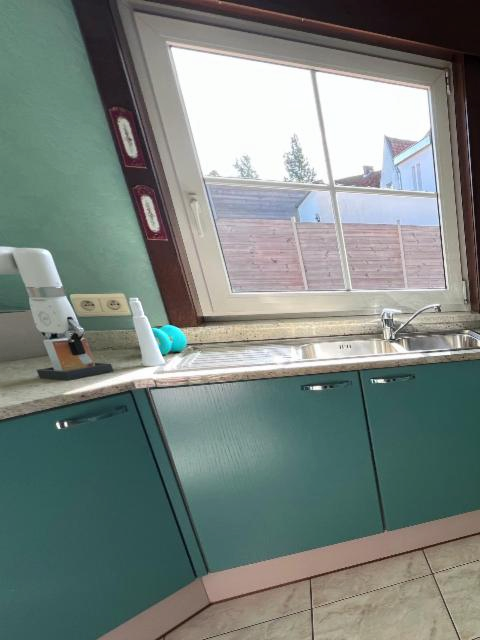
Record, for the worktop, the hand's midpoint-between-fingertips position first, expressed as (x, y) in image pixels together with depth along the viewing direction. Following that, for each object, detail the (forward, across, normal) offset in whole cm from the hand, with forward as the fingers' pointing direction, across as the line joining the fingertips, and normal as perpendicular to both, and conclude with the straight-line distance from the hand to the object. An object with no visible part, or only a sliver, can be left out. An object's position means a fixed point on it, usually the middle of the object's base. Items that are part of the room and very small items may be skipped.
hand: (69, 353), depth 151 cm
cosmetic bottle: (+7, +7, +18) cm, 21 cm away
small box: (+6, 0, 0) cm, 6 cm away
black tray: (+7, 0, 0) cm, 7 cm away
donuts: (+7, -7, +35) cm, 36 cm away
